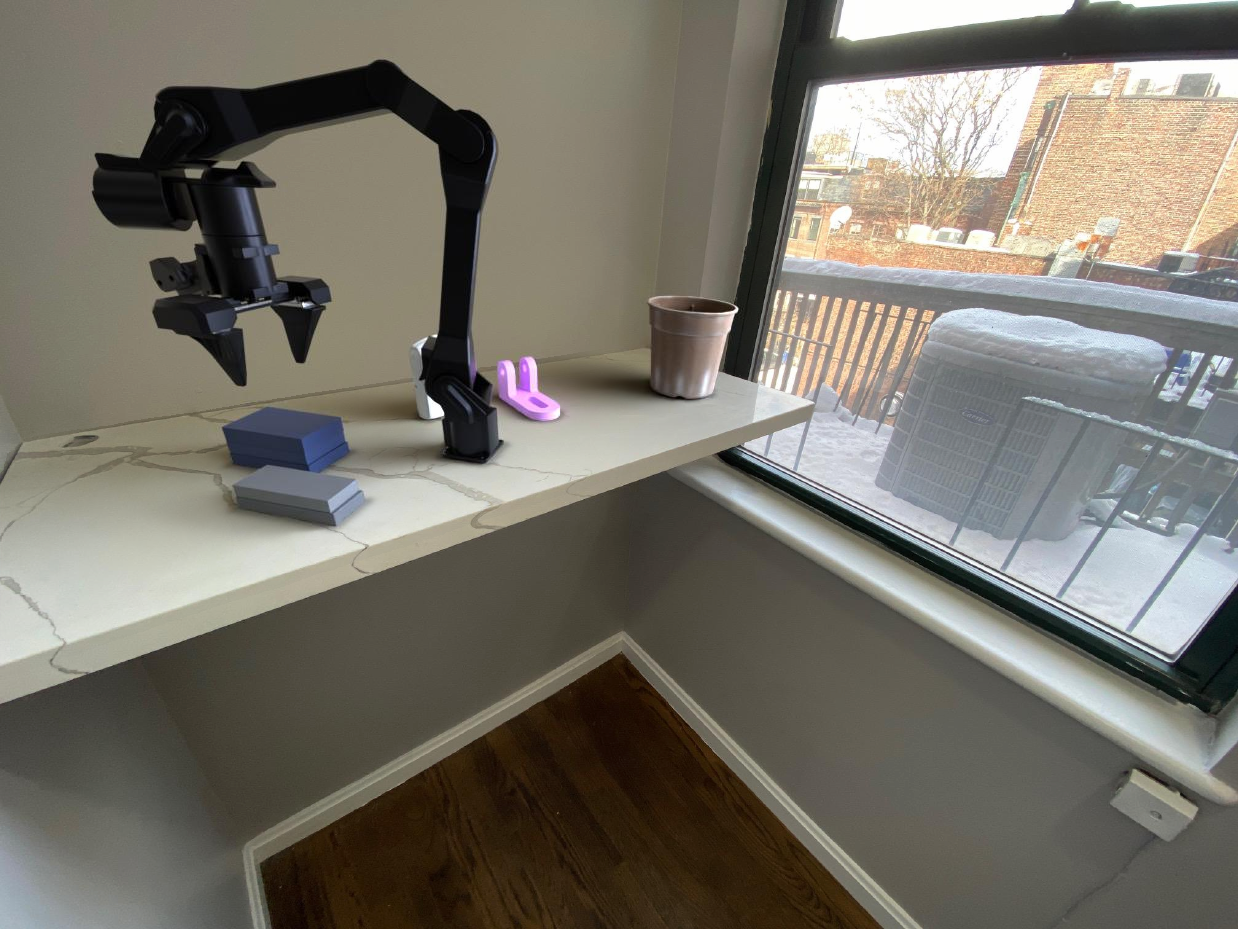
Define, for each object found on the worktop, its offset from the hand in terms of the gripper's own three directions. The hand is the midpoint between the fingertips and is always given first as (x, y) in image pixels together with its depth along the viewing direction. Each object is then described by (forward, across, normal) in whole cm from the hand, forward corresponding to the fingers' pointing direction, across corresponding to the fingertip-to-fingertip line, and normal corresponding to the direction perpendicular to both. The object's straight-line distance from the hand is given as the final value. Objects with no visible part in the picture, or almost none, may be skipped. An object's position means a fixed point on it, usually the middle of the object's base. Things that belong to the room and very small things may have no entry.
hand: (272, 373), depth 62 cm
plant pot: (+11, -44, +48) cm, 66 cm away
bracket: (+11, -26, +24) cm, 37 cm away
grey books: (+11, +10, +9) cm, 18 cm away
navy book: (+8, +1, 0) cm, 8 cm away
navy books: (+11, +1, 0) cm, 11 cm away
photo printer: (+11, -20, +12) cm, 26 cm away
